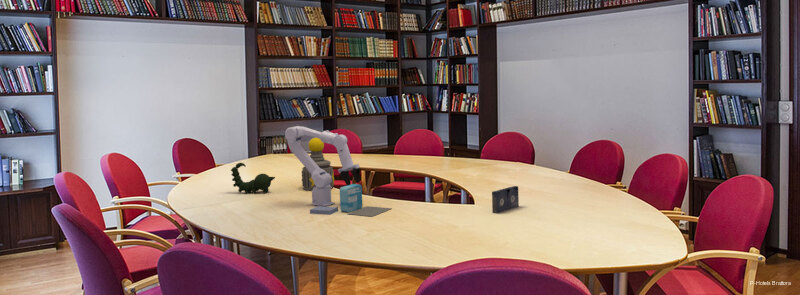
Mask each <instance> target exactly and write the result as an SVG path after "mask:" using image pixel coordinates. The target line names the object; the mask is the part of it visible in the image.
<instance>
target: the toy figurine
mask: <svg viewBox="0 0 800 295" xmlns="http://www.w3.org/2000/svg"><path fill="white" fill-rule="evenodd" d="M241 167H246V164H245V163H244V162H238V163H236V164H235V166H234V167H232V168H231V169H230V171H231V172H232V173H231V176H232V177H233V178H232V179H231V181H232V182H234V184H232V186H233V187H234V188H235V187H237V188H238V190H237V192H238V193H241V192H244V193H245V194H246V195H247V194H249V193H253V194H256V193H257V192H259V191H262V192H263V193H264V194H266V193H268V192H269V187H270V186H271V184H272V181H273V180H275V178H276V177H275V176H269V175H268V174H266V173H259V174H258V175H256V176H255V178H254V179H250V181H246V182H245V181H243V179H242V177H241V175H240V171H239V168H241Z"/></svg>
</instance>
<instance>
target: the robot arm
mask: <svg viewBox="0 0 800 295" xmlns="http://www.w3.org/2000/svg"><path fill="white" fill-rule="evenodd" d="M304 136H308V137H311V138H319V139H320V140H321V141H322V142H323V143H324V144H329V145H332V146H334V147H335V148H336V152H337V155H338V158H339V161H340V164H341V168H338V169H337V170H338V175H339V176H340V178H341V179H342V180H343V181H344V183H345V186H348V185H351V184H352V182H351V178H350V173H351V175H352V177H353V180H354V182H355V184H359V183H361V170H362V168H361V167H360V164H359V163H356V164H354V162H353V159H352V156H351V153H350V149H349V146H348V144H347V143H348V140H349V139H348V137H347V136H346V135H345V134H342V133H341V134H339V133H338V132H335V133H333V132H331V131H330V130H323V131H322V132H321V131H318V130H315V129H312V128H309V127H306V126H301V125H296V126H292V127H287V128H286V130H285V133H284V138H285V139H286V142H287V144H288V148H289V150H290V151H291V153H293V154H294V156H295V157H296V158H297V159H298V160H299V162H300V163H301V164H302V165H303V167H306V169H307V170H308V171H309V172H310V173H311V174H312V179H313V181H314V184H315V185H316V187H314V188H313V190H312V191H311V200H312V201H311V202H312V203H311V204H310V205H311V206H324V207H329V206H331V205H334V204H335V203H336V202H335V201H332V192H331V191H332V188H331V185H330V184H331V182H332V176H331V175H330V174H329V173H327V172H325V171H324V170H323V169H321V168H319V166H318V165H317V164H316V163H315V162H314V161H313V160H312V158H311V157H310V154H308V152H306V150H305V149H304V147H303V146H302V145H301V143H302V139H303V138H304Z"/></svg>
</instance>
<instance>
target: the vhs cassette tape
mask: <svg viewBox="0 0 800 295" xmlns="http://www.w3.org/2000/svg"><path fill="white" fill-rule="evenodd" d="M519 198H520V197H519V186H517V185H514V186H509V187H506V188H503V189H498V190H494V191H491V204H492V207H491V208H492V214H500V213H503V212H506V211H509V210H513V209H515V208H518V207H520V205H519V204H520V203H519Z"/></svg>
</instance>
